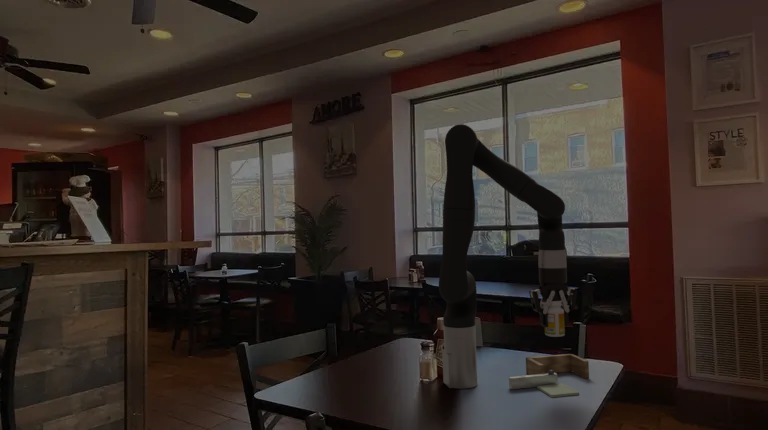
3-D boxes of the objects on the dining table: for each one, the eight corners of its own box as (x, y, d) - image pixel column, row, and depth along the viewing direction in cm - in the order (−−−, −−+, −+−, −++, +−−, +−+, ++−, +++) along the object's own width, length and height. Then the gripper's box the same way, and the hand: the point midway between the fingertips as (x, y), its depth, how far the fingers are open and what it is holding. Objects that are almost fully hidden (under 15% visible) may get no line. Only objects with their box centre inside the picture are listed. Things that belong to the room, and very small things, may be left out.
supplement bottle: (561, 332, 147) (560, 298, 148) (567, 337, 142) (566, 301, 142) (542, 333, 148) (541, 299, 148) (547, 337, 142) (546, 301, 142)
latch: (511, 389, 144) (511, 374, 144) (509, 387, 145) (508, 373, 146) (558, 384, 146) (557, 370, 146) (555, 383, 148) (554, 369, 148)
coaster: (551, 397, 137) (551, 395, 137) (537, 388, 145) (537, 386, 145) (579, 394, 138) (579, 392, 138) (563, 385, 146) (563, 383, 146)
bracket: (540, 382, 150) (539, 365, 150) (526, 373, 159) (525, 357, 159) (589, 378, 152) (588, 361, 152) (572, 369, 161) (571, 353, 161)
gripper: (535, 268, 140) (537, 330, 140) (583, 265, 143) (585, 327, 143) (522, 266, 147) (524, 325, 147) (568, 264, 150) (569, 322, 150)
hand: (554, 326), depth 145 cm, fingers closed on supplement bottle, 5 cm apart
